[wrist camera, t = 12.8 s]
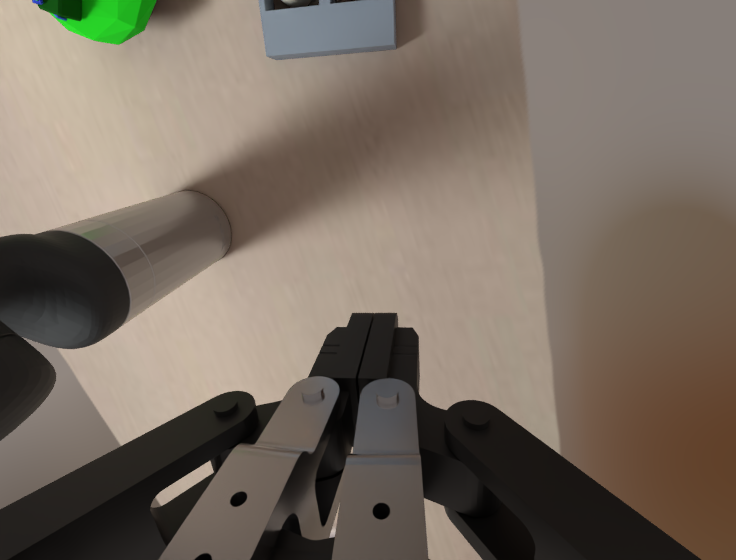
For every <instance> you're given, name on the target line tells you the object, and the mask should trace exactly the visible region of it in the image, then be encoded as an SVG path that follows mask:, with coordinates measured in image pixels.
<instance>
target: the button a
mask: <svg viewBox="0 0 736 560" xmlns="http://www.w3.org/2000/svg"><path fill="white" fill-rule="evenodd" d="M282 1H283V2H284V3H285V4H287V5H288V6H290V7H293V8H298V7H305V6H307V5H308V4H309V3H310V2H311V1H312V0H282Z"/></svg>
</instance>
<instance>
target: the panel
mask: <svg viewBox="0 0 736 560" xmlns="http://www.w3.org/2000/svg"><path fill="white" fill-rule="evenodd" d="M259 6H260V14H261V21H262V28H263V35H264V42H265V49H266V56H267V57H269V58H272V59H275V60H283V59H294V58H305V57H316V56H327V55H338V54H349V53H360V52H371V51H382V50H393V49H396V11H395V0H360V1H351V2H342V3H336V0H319V5H315V6H307V7H298V8H289V9H280V10H275V9H274V1H273V0H259Z"/></svg>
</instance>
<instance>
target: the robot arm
mask: <svg viewBox="0 0 736 560" xmlns="http://www.w3.org/2000/svg"><path fill="white" fill-rule="evenodd" d="M230 243H231V228H230V225H229V222H228V219H227V217H226V215H225V213H224V212H223V210H222V209H221V208H220V207H219V205H218V204H216V203H215V202H214V201H213V200H212V199H210V198H209V197H207V196H206V195H204V194H201V193H199V192H194V191H180V192H177V193H173V194H170V195H167V196H163V197H160V198H156V199H152V200H149V201H146V202H142V203H139V204H135V205H132V206H129V207H125V208H122V209H119V210H115V211H112V212H108V213H105V214H102V215H98V216H95V217H92V218H88V219H85V220H82V221H78V222H75V223H72V224H69V225H65V226H62V227H59V228H55V229H52V230H49V231H46V232H42V233H38V234H35V235H33V234H16V235H9V236H4V237H0V441H1V440H2V439H3V438H4V437H6V436H7V435H8V434H9V433H11V432H12V431H13V430H14V429H16V428H17V427H18V426H19V425H20V424H21V423H22V422H23V421H25V420H26V419H27V418H28V417H29V416H30V415H31V414H32V413H33V412H34V411H35V410H36V409H37V408H38V407H39V406H40V405H41V404H42V403H43V402H44V400H45V399H46V398H47V397H48V395H49V394H50V392H51V390H52V389H53V387H54V384H55V381H56V372H55V370H54V367H53V366H52V365H51V364H50V362H49V361H48V360H47V359H46V358H45V357H44V356H43V355H42V354H41V353H40V352H39V351H37V350H36V349H35V348H34V347H33V346H31V345H30V344H29V343H28V342H27V341H26V340H24V339H23V338H22V337H24V338H27V339H30V340H32V341H35V342H38V343H41V344H44V345H48V346H52V347H56V348H63V349H77V348H83V347H87V346H90V345H93V344H95V343H97V342H99V341H101V340H102V339H104V338H105V337H107V336H108V335H110V334H111V333H113V332H114V331H116V330H117V329H118V328H119V327H121V326H122V325H124V324H125V323H127V322H128V321H130V320H131V319H133V318H134V317H136V316H137V315H139V314H140V313H141V312H143V311H144V310H146V309H147V308H149V307H150V306H152V305H153V304H155V303H156V302H157V301H159V300H160V299H162V298H163V297H165V296H166V295H168V294H169V293H171V292H172V291H174V290H175V289H177V288H178V287H180V286H181V285H183V284H184V283H186V282H187V281H188V280H190V279H191V278H193V277H194V276H196V275H197V274H199V273H200V272H202V271H203V270H205V269H206V268H208V267H209V266H211V265H212V264H214V263H215V262H217V261H218V260H220V259H221V258H222V257H223V256H224V255H225V254H226V252H227V251H228V249H229V246H230ZM20 336H21V337H20ZM419 377H420V373H419V336H418V335H417V333H416V332H415V330H414V329H413V328H400V327H398V316H397V313H375V314H374V313H352V315H351V317H350V320H349V323H348V325H347V327H337V328H335V329H334V330H333V331H332V332H331V333H329V334H328V335H327V337H326V339H325V341H324V343H323V346H322V348H321V350H320V352H319V354H318V357H317V359H316V361H315V363H314V365H313V367H312V370H311V372H310V374H309V376H308V378H306V379H303V380H300V381H299V382H297V383H295V384H294V385H293V386H292V387H291V388H290V389H289V390H288V392H287V393H286V395H285V397H284V398H283V400H281V401H278V402H273V403H268V404H263V405H258V406H256V404H255V400H254V398H253V396H252V395H250V394H249V393H247V392H243V391H232V392H227V393H224V394H221V395H218V396H216V397H214V398H212V399H210V400H208V401H207V402H205V403H203V404H201V405H199V406H197V407H195V408H193V409H191V410H189V411H187V412H186V413H184V414H182V415H180V416H178V417H176V418H174V419H172V420H170V421H168V422H166V423H165V424H163V425H161V426H159V427H157V428H155V429H153V430H151V431H149V432H147V433H145V434H144V435H142V436H140V437H138V438H136V439H134V440H132V441H130V442H128V443H126V444H124V445H123V446H121V447H119V448H117V449H115V450H113V451H111V452H109V453H107V454H106V455H103V456H102V457H100V458H98V459H96V460H94V461H92V462H90V463H88V464H86V465H84V466H82V467H81V468H79V469H77V470H75V471H73V472H71V473H69V474H67V475H65V476H63V477H62V478H60V479H58V480H56V481H54V482H52V483H50V484H48V485H46V486H44V487H42V488H41V489H38V490H37V491H35V492H33V493H31V494H29V495H27V496H25V497H23V498H21V499H20V500H17V501H16V502H14V503H12V504H10V505H8V506H6V507H4V508H3V509H0V560H430V559H428V548H427V535H426V521H425V508H424V498H426V499H428V500H431V501H433V502H436V503H438V504H440V505H443V506H444V508H445V511H446V514H447V516H448V517H449V519H450V520H451V522H452V523H453V524H454V525H455V526H456V528H457V529H458V530H459V531H460V532H461V534H462V535H463V536H464V537H465V539H466V540H467V541H468V542H469V543H470V545H471V546H472V547H473V548H474V549H475V551H476V552H477V553H478V554H479V555H480V557H481V558H482V559H483V560H701V559H700V558H698V557H697V556H696V555H694V554H693V553H692V552H690V551H689V550H688V549H686V548H685V547H684V546H682V545H681V544H679V543H678V542H677V541H675V540H674V539H673V538H671V537H670V536H669V535H667V534H666V533H665V532H663V531H662V530H661V529H659V528H658V527H657V526H655V525H654V524H652V523H651V522H650V521H648V520H647V519H646V518H644V517H643V516H642V515H640V514H639V513H638V512H636V511H635V510H634V509H632V508H631V507H630V506H628V505H627V504H625V503H624V502H623V501H621V500H620V499H619V498H617V497H616V496H615V495H613V494H612V493H611V492H609V491H608V490H606V489H605V488H604V487H603V486H601V485H600V484H598V483H597V482H596V481H595V480H593V479H592V478H590V477H589V476H588V475H586V474H585V473H584V472H582V471H581V470H580V469H578V468H577V467H576V466H574V465H573V464H572V463H570V462H569V461H567V460H566V459H565V458H564V457H562V456H561V455H559V454H558V453H557V452H555V451H554V450H553V449H551V448H550V447H549V446H547V445H546V444H545V443H543V442H542V441H541V440H539V439H538V438H537V437H535V436H534V435H532V434H531V433H530V432H528V431H527V430H526V429H524V428H523V427H522V426H520V425H519V424H518V423H516V422H515V421H514V420H512V419H511V418H510V417H508V416H507V415H506V414H504V413H503V412H501V411H500V410H499V409H497V408H496V407H494V406H492V405H490V404H488V403H485V402H482V401H476V400H466V401H461V402H458V403H455V404H453V405H452V406H451V407H450V408H448V410H443V409H440V408H437V407H434V406H432V405H430V404H429V403H427V402H426V401H424V400H423V399H422V398H421V396H420V395H419ZM352 447H353V454H350V453H351V448H352ZM208 461H211V464H212V467H213V471H214V473H213V474H211V475H209V476H208V477H206V478H205V479H203V480H202V481H200V482H199V483H197V484H196V485H194V486H193V487H191V488H189V489H188V490H186V491H185V492H183V493H182V494H180V495H179V496H177V497H176V498H174V499H173V500H171V501H169V502H168V503H166V504H165V505H163V506H160V507H157V508H152V507H150V506H151V503H152V501H153V499H154V498H155V497H156V495H157V494H158V493H159V492H161V491H162V490H163V489H165V488H166V487H168V486H170V485H171V484H173V483H174V482H176V481H178V480H179V479H181V478H182V477H184V476H186V475H187V474H189V473H190V472H192V471H194V470H195V469H197V468H198V467H200V466H202V465H203V464H205V463H206V462H208ZM339 503H340V506H339ZM338 507H339V513H338V520H337V526H336V533H335V537H333V538H329V536H330V533H331V530H332V526H333V523H334V520H335V516H336V513H337V510H338Z"/></svg>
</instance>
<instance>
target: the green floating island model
mask: <svg viewBox="0 0 736 560" xmlns="http://www.w3.org/2000/svg"><path fill="white" fill-rule="evenodd" d="M32 2H33V3H36V4H38V6H39V8H40V9H42V10H45V11H47V12H49V13H50V14H51V15H52V16H53V17H55V18H56V19H57V20H58V21H59V22H60V23H61V24H62V25H63V26H64V27H65V28H66V29H67V30H69V31H72V32H74V33H76V34H79V35H81V36H84V37H86V38H89V39H91V40H94V41H98V42H105V43H111V44H118V45H119V44H121V43H123V42H125V41H126V40H128V39H130V38H132V37H133V36H135V35H137V34H139V33H140V32H142V31H144V30H145V27H146V25H147V23H148V20H149V18H150V16H151V13H152V11H153V9H154V6H155V4H156V2H157V0H32Z"/></svg>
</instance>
